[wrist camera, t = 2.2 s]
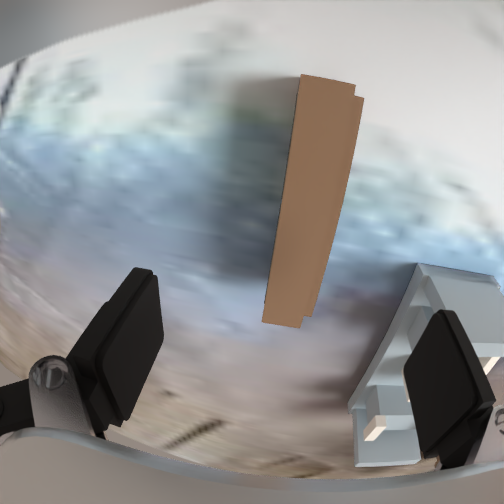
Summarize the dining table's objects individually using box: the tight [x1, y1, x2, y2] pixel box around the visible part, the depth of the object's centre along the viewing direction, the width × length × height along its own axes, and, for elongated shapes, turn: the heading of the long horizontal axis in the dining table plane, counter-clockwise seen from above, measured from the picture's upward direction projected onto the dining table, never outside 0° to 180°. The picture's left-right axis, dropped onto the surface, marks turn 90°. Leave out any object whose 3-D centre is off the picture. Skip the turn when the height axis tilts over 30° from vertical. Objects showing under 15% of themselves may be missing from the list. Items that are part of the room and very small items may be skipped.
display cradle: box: [348, 263, 504, 467], centre depth 22 cm, size 18×8×8 cm, turn 175°
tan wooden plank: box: [262, 74, 364, 328], centre depth 17 cm, size 14×3×5 cm, turn 174°
